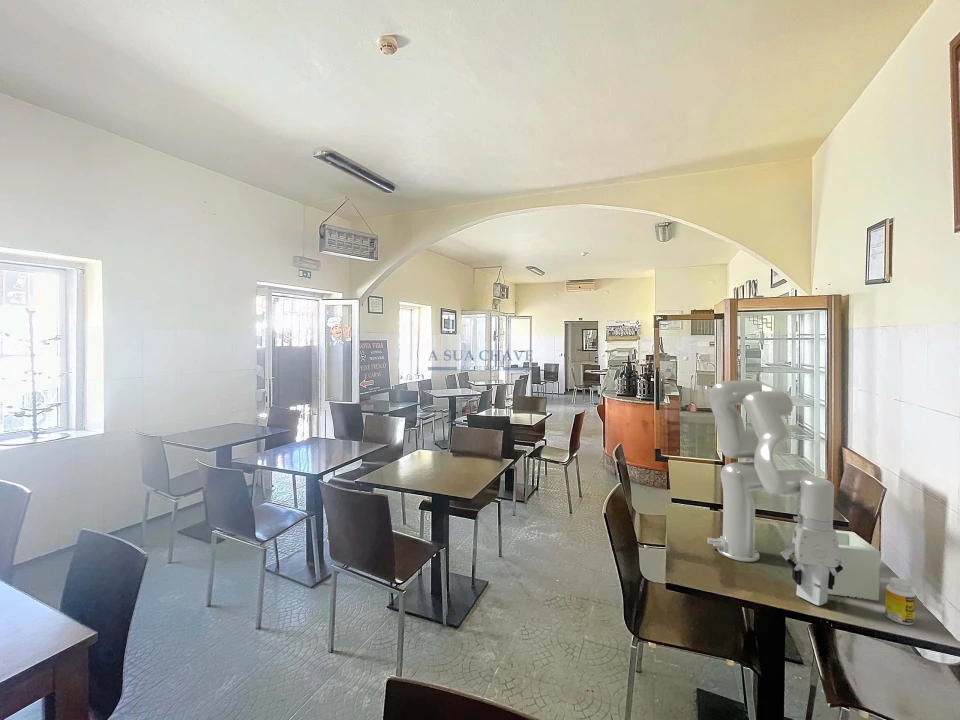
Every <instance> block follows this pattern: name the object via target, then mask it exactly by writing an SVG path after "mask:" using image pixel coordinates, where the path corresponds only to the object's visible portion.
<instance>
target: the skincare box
mask: <svg viewBox="0 0 960 720" xmlns="http://www.w3.org/2000/svg"><path fill="white" fill-rule="evenodd" d="M800 571H801V572H802V575H801V585H798V584H797V583H796V592H795V593H796V596H797V597H800V598H801V599H803V600H806V601H807V602H809V603H812V604H813V605H816V606H818V607H820V606H822V605H824V604H826V603H828V595H829V594H828V584H829V571H830V569H829V567H825V564H824V563H819V566H814V565H806V564H803V565H802V567H801V568H800Z"/></svg>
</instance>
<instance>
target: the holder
mask: <svg viewBox="0 0 960 720" xmlns="http://www.w3.org/2000/svg"><path fill="white" fill-rule="evenodd" d="M834 530H835V529H834ZM835 531H836V533H837V538H838V545H839V554H840V555H841V556H842V557H843V558H845V559H846V560H847V561H848V562H849V564H848V565H847V566H846V567H844V568H843V570H841V571H840V572H838V573H837V575H836V576H835V584H834V585H833V590H831V589H829V588H828V595H835V596H842V597H847V596H849V597H850V598H855V597H857V598H856V599H862V598H863V600H871V601H880V600H879V599H880V570H881V569H880V568H881V551H880V550H878V549H877V548H876V547H874V546H873V545H871V544H870V543H869V542H867V541H866V540H865V539H863V538H862V537H861V536H859V535H858V534H856V533H855V532H853V531H847V530H845V531H844V530H835ZM849 597H848V598H849Z"/></svg>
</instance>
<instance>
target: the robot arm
mask: <svg viewBox="0 0 960 720" xmlns="http://www.w3.org/2000/svg"><path fill="white" fill-rule="evenodd" d="M708 401H709V405H710V406H709V407H710V409H711V411H712V414H713V417H714V420H715V424H716V431H717V436H718V441H719V447H720V451H721V453H722V455H723V456H724V457H726V458H729V459H749V461H747V462H746V461H745V462H744V461H743V462H738V461H737V462H729V463H727V464H725V465H724V466H722V468H721V471H720V480H721V485H722V494H723V498H722V501H723V506H722V508H723V509H722V535H720V536H719V537H717V538H713V537H707V544H709V545H710V544H711V545H712V546H713V547H716V548H717V551H718V553H719V554H721V555H722V556H724V557H726V558H729V559H731V560H734V561H738V562H747V563H751V562H757V561H758V560H760V553H759V552H758V551H757V550H756V549H755V531H756V528H755V527H756V526H755V524H756V505H755V501H754V499H753V498H752V496H751V494H750V492H753V491H766V492H767V493H768V494H769V495H770V496H774V497H779V498H783V497H785V498H787V497H799V508H798V509H799V511H798V512H799V513H798V515H797V516H795V515H793V517H792V518H793V521H794V522H796V523H795V527H794V530H793V534H792V539H791V540H792V541H791V545H790V546H789V547H787V548H785V549H784V550H782V551H780V555H781V556H782V558H783V559H785V561H786V562H787V563H788V565H790V566H791V568H792V570H791V571H792V574H791V578H792V579H793V581H794V583H796V585H797V584H798V585H801V575H802V572H801V571H800V568H801V567H802V565H803V564H806V565H814V566H819V563H824V564H825V567H829V569H830V571H829V584H828V588H829V589H831V590H833V585H834V584H835V576H836V575H837V573H838V572H840V571H841V570H843V568H844V567H846V566H847V565H848V564H849V562H848V561H847V560H846V559H845V558H843V557H842V556H841V555H840V554H839V545H838V538H837V533H836V531H835V529H834V527H833V526H834V525H833V524H834V503H835V502H834V501H835V484H834V483H833V482H832V481H830V480H828V479H826V478H822V477H818V476H816V475H814V474H813V473H811V472H809V471H807V470H804V469H778V468H777V466H776V464H775V461H774V457H773V451H774V448H775V447H776V446H777V445H779V444H782V443H783V442H784V441H786V440H787V439H788V438H789V435H790V433H789V431H788V429H787V427H786V424H785V422H784V420H783V418H784V417H788V416H789V415H791V413H792V412H793V409H794V407H793V401H792V399H791V398H790V396H789V395H788V394H787V393H785V392H784V391H782V390H781V389H778V388H776V387H773V386H771V385H769V384H766V383H764V382H762V381H758V380H724V381H720V382H717V383H715V384H713V385H712V387H711V389H710V391H709V395H708ZM736 405H737V406H738V405H740V406H743V409H744V410H745V413H746V416H747V417H748V420H749V422H750V424H751V426H752V429H753V430H746V428H745V425H744V420H743V417H742V415H741V414H740V412H739V411H738V409H736V408H735V407H734V406H736ZM782 417H783V418H782ZM790 556H792V557H794V558H793V559H792V558H790Z"/></svg>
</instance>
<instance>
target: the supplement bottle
mask: <svg viewBox="0 0 960 720" xmlns="http://www.w3.org/2000/svg"><path fill="white" fill-rule="evenodd" d="M884 601H885V602H884V607H885V608H884V614H885V616H886V617H887V618H888V619H889V620H891V621H893V622H895V623H898V624H901V625H905V626H906V625H907V626H909V625H910V626H911V625H913V624H914V623H915V609H916V607H915V606H916V604H915V603H916V602H915V601H916V593H915V591H913V590H912V584H911V582H910V581H908V580H907V579H903V578H899V577H890V580H889V583H888V584H886V585H885V600H884Z"/></svg>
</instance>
